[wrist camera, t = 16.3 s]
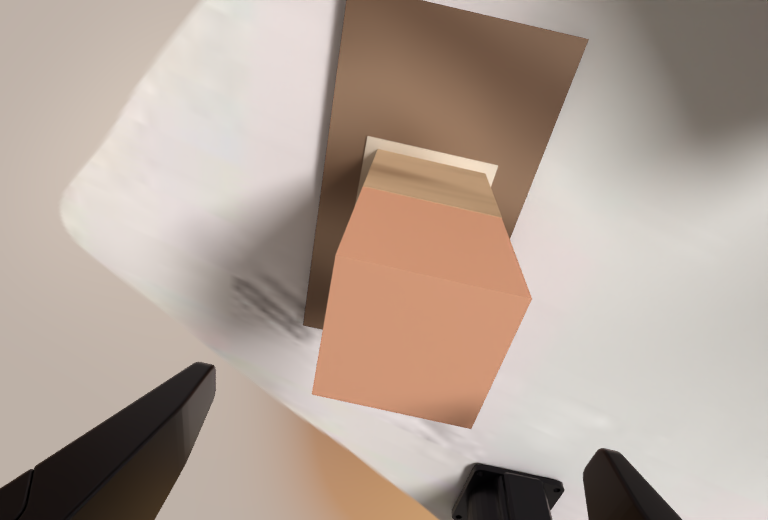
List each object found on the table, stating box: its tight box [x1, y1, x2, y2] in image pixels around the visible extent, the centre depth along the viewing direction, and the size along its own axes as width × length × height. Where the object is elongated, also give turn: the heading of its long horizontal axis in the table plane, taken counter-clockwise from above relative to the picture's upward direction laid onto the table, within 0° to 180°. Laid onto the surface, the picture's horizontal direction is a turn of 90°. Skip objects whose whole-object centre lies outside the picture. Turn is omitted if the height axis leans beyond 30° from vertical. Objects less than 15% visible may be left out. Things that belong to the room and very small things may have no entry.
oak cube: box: [363, 149, 502, 218], centre depth 18 cm, size 5×5×5 cm
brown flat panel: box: [303, 0, 589, 329], centre depth 21 cm, size 17×10×1 cm, turn 169°
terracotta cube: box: [312, 187, 532, 429], centre depth 14 cm, size 5×5×5 cm
